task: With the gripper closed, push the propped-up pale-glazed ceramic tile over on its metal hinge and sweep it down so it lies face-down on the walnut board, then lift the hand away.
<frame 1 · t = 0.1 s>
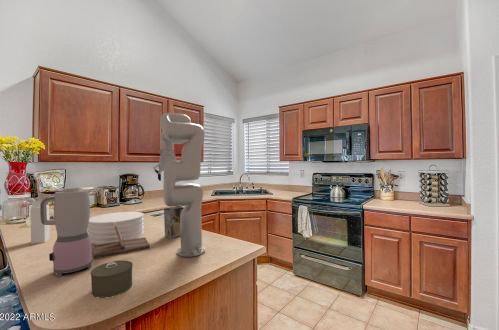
hand: (168, 180, 147), 31 cm above the countertop, tool pointing down, fingers open, 9 cm apart
milk: (40, 241, 128), on the countertop
coffee box: (174, 235, 136), on the countertop
blender: (68, 271, 92), on the countertop
tile: (118, 234, 115), point 7 cm above the countertop, hinge at 75.0°
can: (112, 289, 78), on the countertop
walnut board: (122, 248, 115), on the countertop
plate stack: (117, 236, 136), on the countertop
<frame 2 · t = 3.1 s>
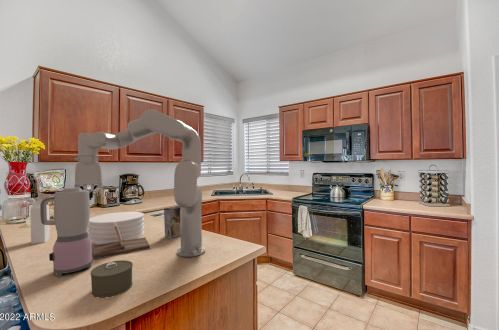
hand: (89, 199, 109), 25 cm above the countertop, tool pointing down, fingers closed
nothing on the countertop moved.
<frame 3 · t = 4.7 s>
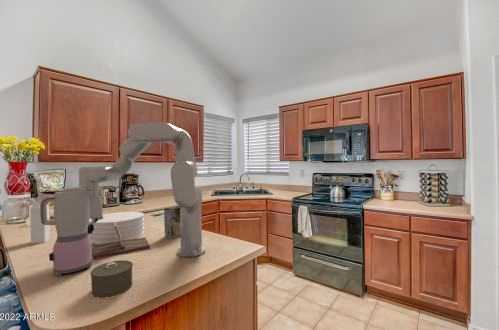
hand: (89, 233, 109), 10 cm above the countertop, tool pointing down, fingers closed
nothing on the countertop moved.
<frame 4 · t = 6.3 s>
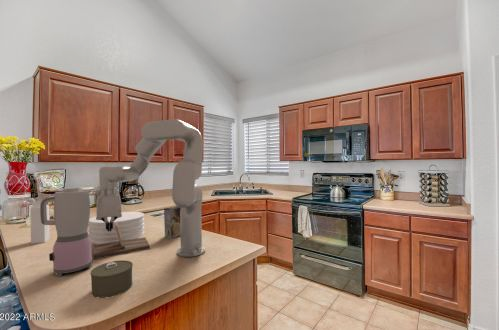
hand: (109, 230, 113), 10 cm above the countertop, tool pointing down, fingers closed
tile: (119, 234, 115), point 7 cm above the countertop, hinge at 76.3°, touching gripper
everything else where it was.
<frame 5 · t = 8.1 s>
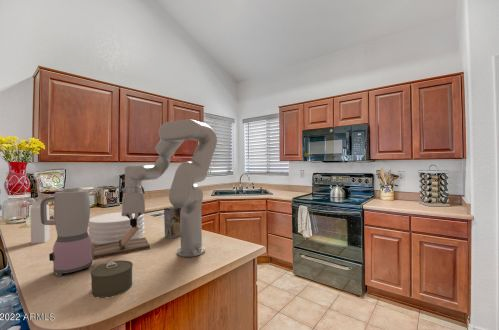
hand: (133, 226, 118), 10 cm above the countertop, tool pointing down, fingers closed
tile: (129, 235, 117), point 6 cm above the countertop, hinge at 131.4°, touching gripper
everything else where it was.
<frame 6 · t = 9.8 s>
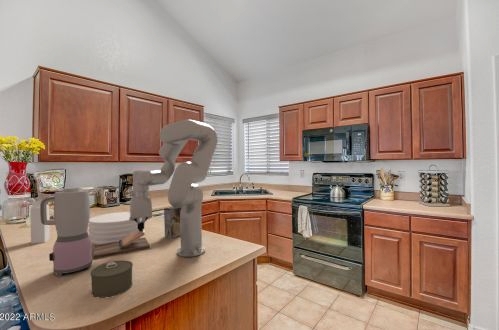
hand: (140, 230, 120), 7 cm above the countertop, tool pointing down, fingers closed
tile: (132, 237, 118), point 4 cm above the countertop, hinge at 154.3°, touching gripper
everything else where it was.
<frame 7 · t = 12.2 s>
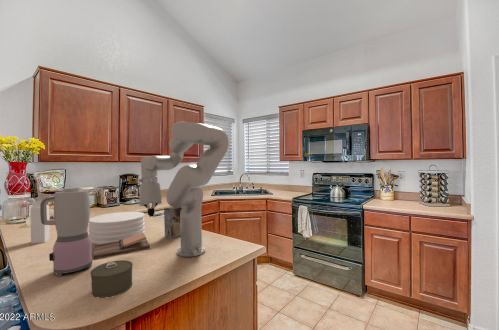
hand: (151, 216, 122), 14 cm above the countertop, tool pointing down, fingers closed
tile: (133, 239, 118), point 3 cm above the countertop, hinge at 166.5°
everything else where it was.
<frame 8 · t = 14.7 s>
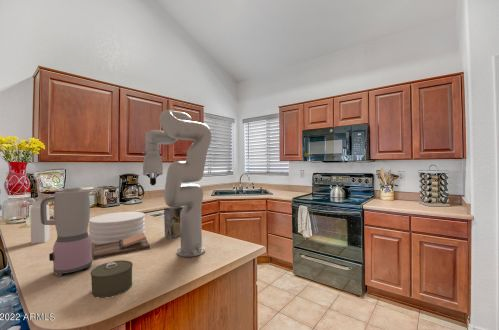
hand: (153, 185, 136), 29 cm above the countertop, tool pointing down, fingers closed
nothing on the countertop moved.
at the end: tile at +166° (first picture: +75°) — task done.
